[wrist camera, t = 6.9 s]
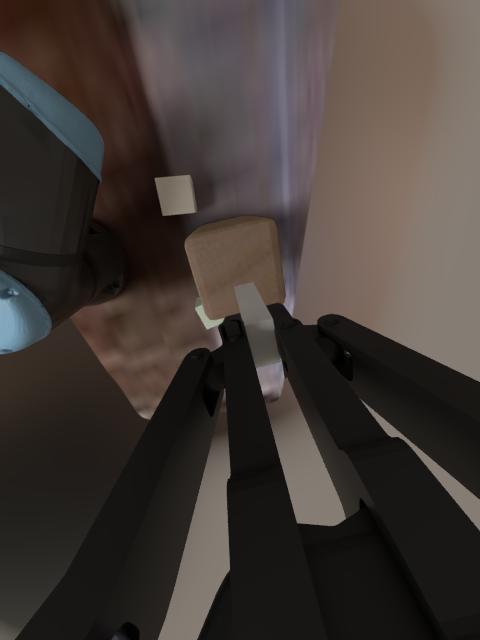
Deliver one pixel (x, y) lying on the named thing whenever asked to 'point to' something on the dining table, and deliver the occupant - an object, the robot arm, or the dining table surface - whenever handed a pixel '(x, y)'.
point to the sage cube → (204, 318)
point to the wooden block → (235, 262)
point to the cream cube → (176, 195)
